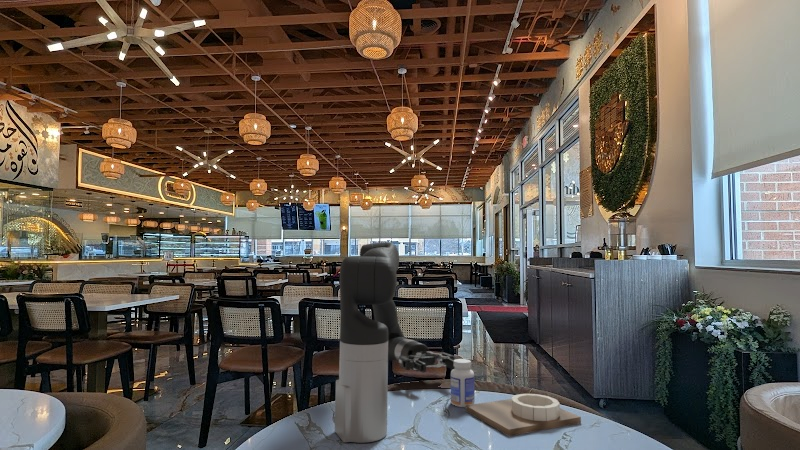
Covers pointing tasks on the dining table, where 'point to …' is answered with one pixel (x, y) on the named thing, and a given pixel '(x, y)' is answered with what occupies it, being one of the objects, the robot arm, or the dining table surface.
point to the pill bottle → (462, 383)
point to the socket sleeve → (535, 407)
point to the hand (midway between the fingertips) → (439, 366)
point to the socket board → (516, 418)
